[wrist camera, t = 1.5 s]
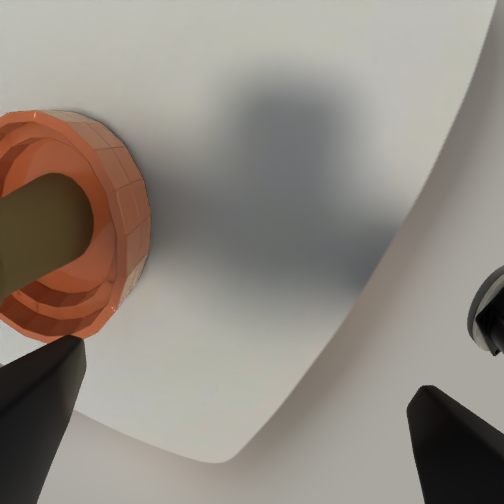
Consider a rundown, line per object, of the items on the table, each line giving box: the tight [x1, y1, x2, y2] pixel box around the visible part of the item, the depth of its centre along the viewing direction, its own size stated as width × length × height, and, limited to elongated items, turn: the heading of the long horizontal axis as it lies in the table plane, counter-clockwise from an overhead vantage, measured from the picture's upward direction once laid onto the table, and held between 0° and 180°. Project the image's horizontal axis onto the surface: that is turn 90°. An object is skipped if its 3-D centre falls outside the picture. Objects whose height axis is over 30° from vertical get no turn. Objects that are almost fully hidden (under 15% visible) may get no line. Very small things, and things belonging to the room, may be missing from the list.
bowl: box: [0, 110, 151, 344], centre depth 16 cm, size 14×14×4 cm
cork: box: [0, 173, 94, 309], centre depth 13 cm, size 6×6×11 cm
